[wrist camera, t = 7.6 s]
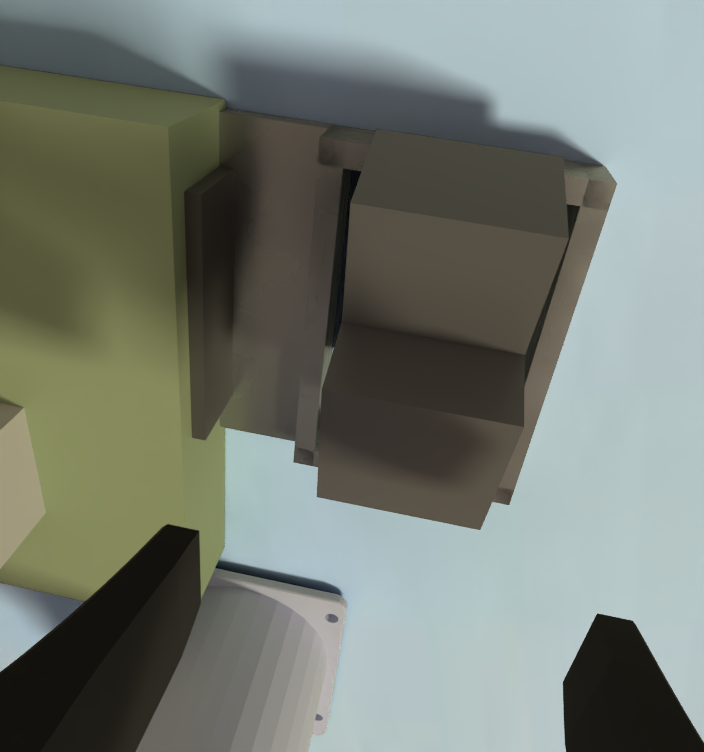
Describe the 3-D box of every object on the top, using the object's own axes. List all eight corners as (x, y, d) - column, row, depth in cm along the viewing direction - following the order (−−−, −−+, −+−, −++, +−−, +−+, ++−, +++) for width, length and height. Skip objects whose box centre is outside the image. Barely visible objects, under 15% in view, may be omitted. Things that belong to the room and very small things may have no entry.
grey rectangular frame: (506, 472, 20) (509, 504, 19) (224, 417, 21) (208, 445, 20) (605, 166, 15) (617, 183, 14) (225, 108, 16) (203, 119, 15)
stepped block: (489, 379, 19) (480, 530, 15) (355, 354, 19) (317, 497, 16) (563, 157, 13) (573, 310, 10) (376, 128, 14) (326, 268, 10)
